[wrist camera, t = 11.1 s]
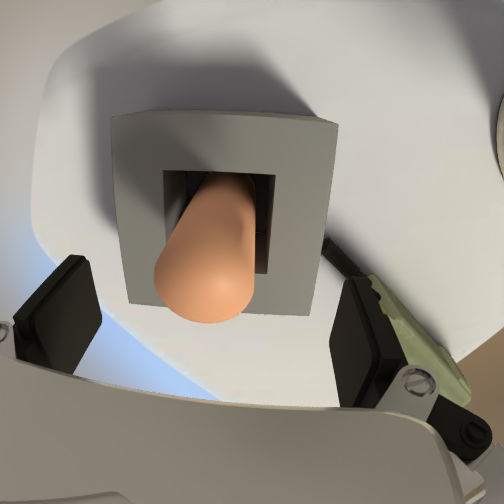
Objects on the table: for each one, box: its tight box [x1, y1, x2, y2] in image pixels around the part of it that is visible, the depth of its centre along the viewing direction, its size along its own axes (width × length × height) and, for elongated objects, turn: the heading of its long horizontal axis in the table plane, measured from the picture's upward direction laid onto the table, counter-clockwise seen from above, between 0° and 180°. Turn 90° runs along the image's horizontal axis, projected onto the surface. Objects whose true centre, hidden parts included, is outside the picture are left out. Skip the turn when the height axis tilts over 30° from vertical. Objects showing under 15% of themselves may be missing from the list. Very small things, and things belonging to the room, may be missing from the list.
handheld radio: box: [321, 238, 471, 407], centre depth 26 cm, size 7×3×25 cm
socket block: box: [111, 110, 339, 316], centre depth 20 cm, size 12×12×6 cm
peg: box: [154, 171, 256, 323], centre depth 18 cm, size 4×4×12 cm
